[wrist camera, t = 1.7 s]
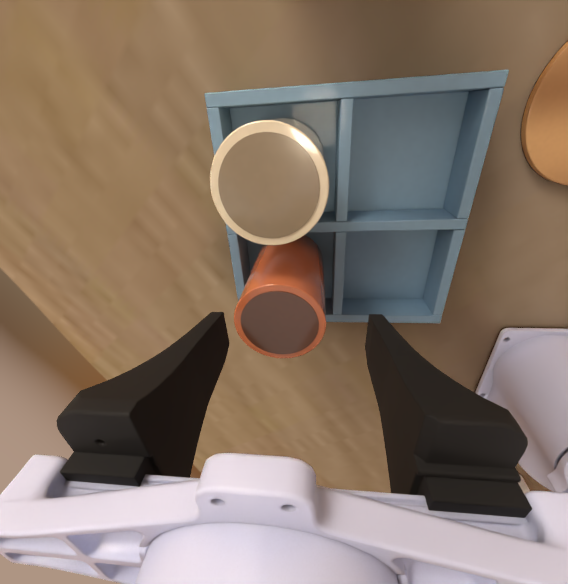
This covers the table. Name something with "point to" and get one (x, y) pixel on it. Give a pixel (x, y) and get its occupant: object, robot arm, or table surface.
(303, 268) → the tumbler
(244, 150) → the cream tumbler
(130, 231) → the table surface
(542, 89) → the coaster
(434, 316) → the rack
